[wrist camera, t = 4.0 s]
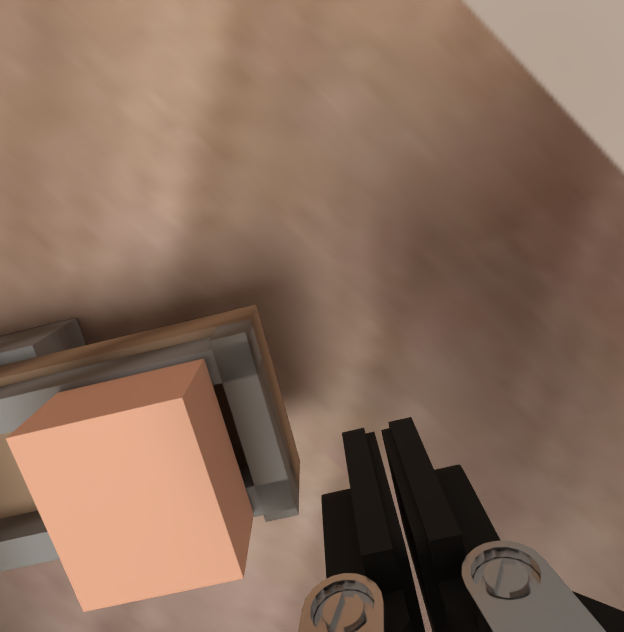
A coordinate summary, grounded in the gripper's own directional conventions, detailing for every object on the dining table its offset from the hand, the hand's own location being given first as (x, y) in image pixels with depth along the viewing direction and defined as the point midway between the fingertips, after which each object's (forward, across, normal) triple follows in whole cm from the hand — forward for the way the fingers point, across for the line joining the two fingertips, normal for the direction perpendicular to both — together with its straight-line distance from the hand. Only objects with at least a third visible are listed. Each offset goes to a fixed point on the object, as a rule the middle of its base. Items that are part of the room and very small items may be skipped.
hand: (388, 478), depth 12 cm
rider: (+7, +7, +1) cm, 10 cm away
